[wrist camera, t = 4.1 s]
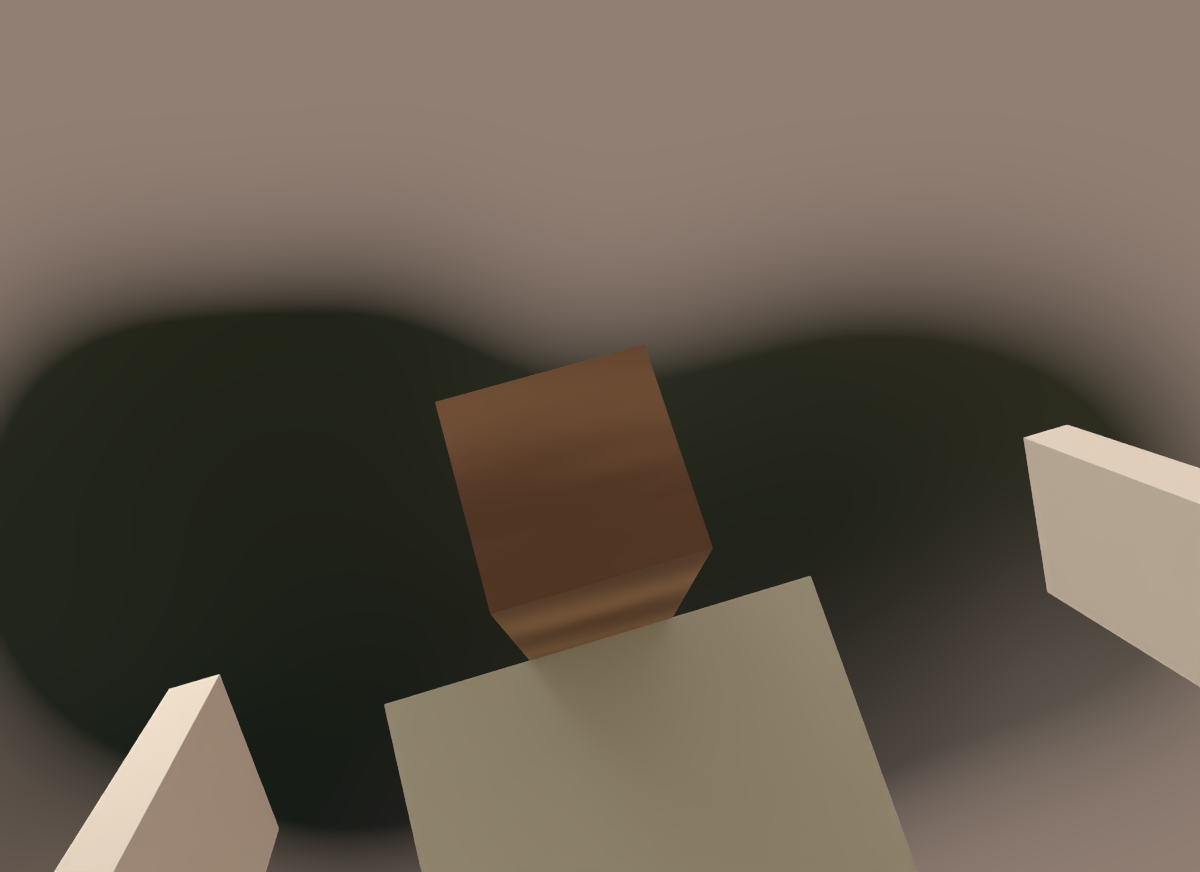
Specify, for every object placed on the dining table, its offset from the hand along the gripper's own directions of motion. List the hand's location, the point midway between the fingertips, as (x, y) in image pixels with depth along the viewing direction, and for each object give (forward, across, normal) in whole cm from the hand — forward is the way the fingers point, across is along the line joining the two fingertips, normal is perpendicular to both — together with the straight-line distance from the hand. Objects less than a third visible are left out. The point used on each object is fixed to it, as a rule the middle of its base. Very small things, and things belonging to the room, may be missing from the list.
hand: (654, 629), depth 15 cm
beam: (+15, -1, -7) cm, 16 cm away
